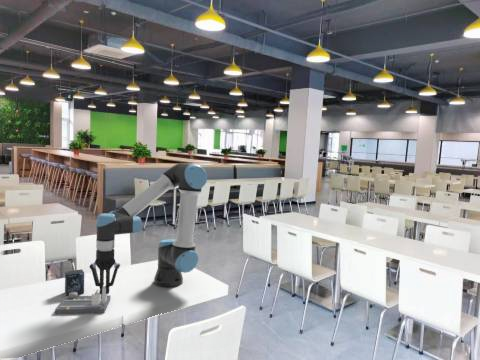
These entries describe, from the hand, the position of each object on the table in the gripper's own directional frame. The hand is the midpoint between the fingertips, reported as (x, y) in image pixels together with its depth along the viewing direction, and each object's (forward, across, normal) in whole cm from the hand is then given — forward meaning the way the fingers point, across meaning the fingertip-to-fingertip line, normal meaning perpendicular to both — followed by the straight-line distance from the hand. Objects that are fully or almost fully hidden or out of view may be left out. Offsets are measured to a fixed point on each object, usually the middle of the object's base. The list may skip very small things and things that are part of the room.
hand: (104, 300), depth 166 cm
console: (+3, +9, -2) cm, 10 cm away
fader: (+1, +3, 0) cm, 4 cm away
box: (+4, +17, -18) cm, 25 cm away
